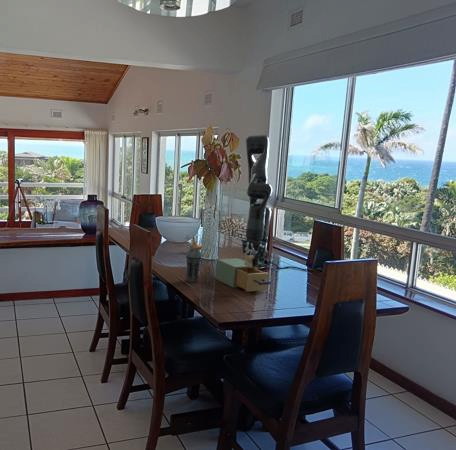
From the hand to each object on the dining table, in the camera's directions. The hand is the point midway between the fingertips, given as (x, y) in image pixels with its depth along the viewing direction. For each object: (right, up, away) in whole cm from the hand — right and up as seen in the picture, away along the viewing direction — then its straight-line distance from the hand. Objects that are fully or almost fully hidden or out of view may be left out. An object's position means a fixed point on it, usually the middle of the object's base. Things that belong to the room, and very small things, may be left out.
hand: (251, 264), depth 206 cm
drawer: (0, -10, 0) cm, 10 cm away
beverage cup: (-26, -8, +7) cm, 28 cm away
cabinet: (-6, -9, +11) cm, 15 cm away
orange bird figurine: (-17, +1, +68) cm, 70 cm away
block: (0, 0, 0) cm, 0 cm away
